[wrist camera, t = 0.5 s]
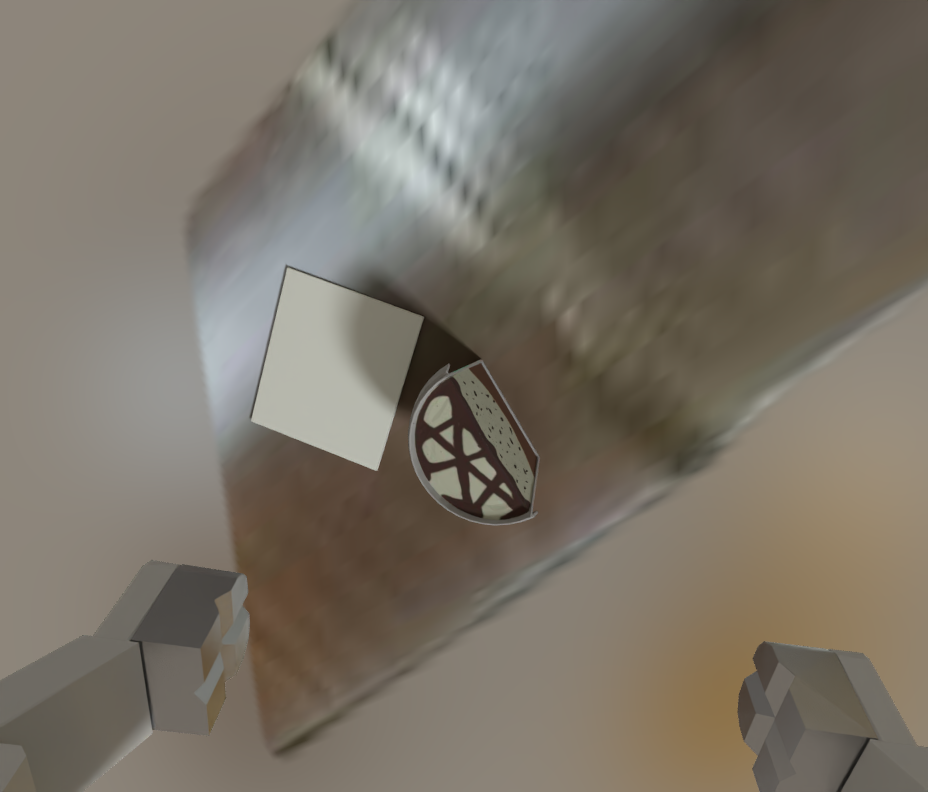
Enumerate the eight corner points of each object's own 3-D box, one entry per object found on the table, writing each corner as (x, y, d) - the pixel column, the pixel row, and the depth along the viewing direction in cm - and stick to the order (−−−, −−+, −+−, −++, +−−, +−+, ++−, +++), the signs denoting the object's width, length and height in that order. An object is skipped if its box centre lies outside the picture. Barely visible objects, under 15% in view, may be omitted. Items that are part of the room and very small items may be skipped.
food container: (409, 378, 58) (368, 411, 49) (472, 342, 57) (441, 369, 47) (485, 504, 60) (459, 559, 50) (549, 473, 58) (534, 524, 48)
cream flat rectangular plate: (289, 267, 58) (287, 267, 58) (424, 316, 57) (423, 317, 57) (252, 420, 63) (251, 421, 62) (377, 469, 61) (376, 470, 61)
